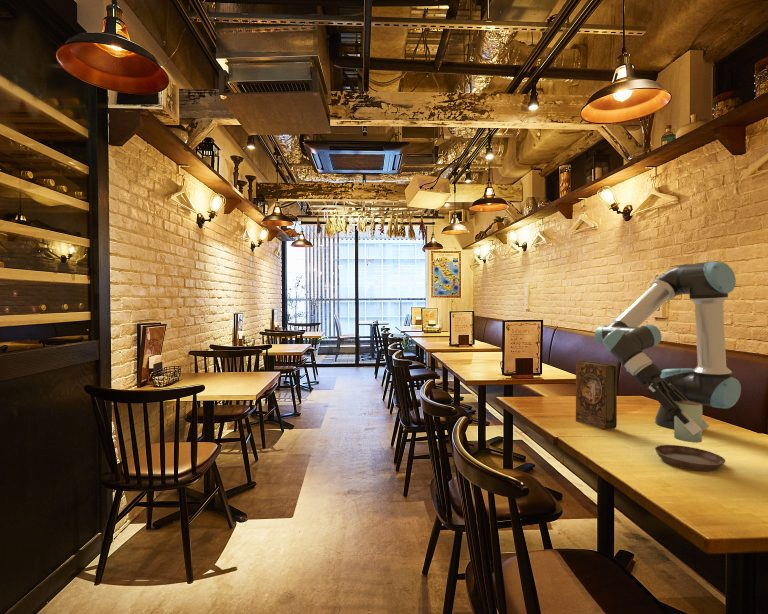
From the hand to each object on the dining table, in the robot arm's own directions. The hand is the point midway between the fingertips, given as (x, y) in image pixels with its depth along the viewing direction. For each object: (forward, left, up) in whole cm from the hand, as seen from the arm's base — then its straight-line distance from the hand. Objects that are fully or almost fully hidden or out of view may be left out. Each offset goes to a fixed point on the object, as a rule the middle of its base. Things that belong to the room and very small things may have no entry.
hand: (701, 430), depth 131 cm
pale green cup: (+3, -2, -3) cm, 5 cm away
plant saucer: (+2, -2, -11) cm, 12 cm away
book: (+17, -44, -11) cm, 49 cm away
